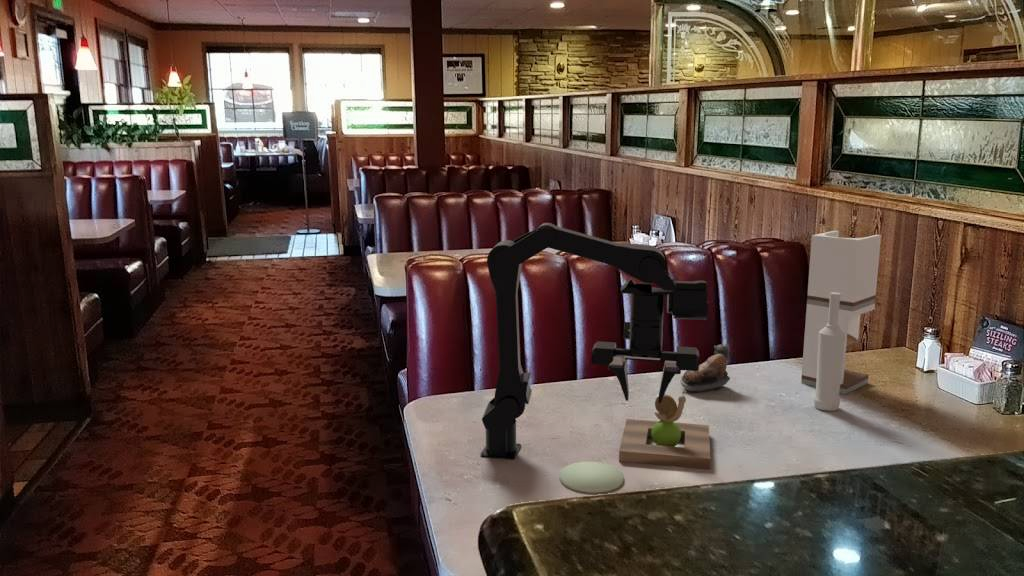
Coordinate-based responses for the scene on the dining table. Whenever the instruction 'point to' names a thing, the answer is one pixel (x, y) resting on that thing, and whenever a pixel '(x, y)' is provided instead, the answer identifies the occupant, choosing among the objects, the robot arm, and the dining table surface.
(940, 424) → the dining table surface
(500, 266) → the robot arm
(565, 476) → the felt coaster
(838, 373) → the bottle
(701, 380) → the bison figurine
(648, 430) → the frame
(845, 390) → the white tall stand
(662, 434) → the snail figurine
